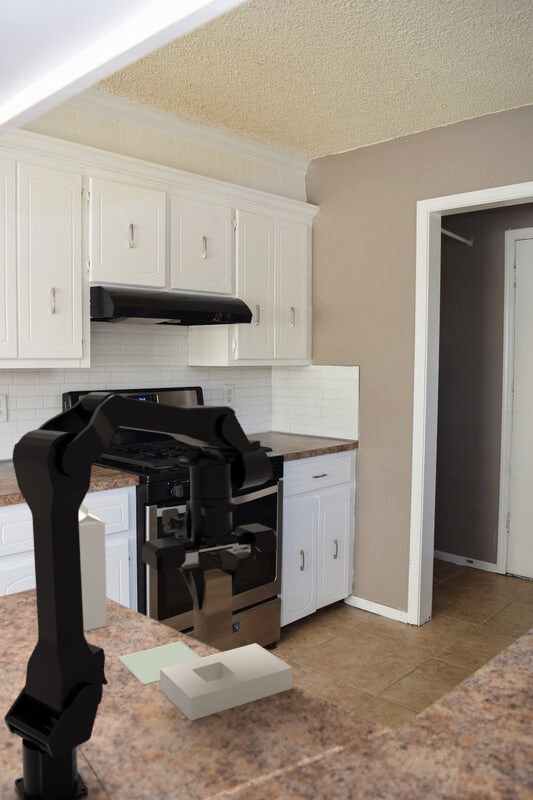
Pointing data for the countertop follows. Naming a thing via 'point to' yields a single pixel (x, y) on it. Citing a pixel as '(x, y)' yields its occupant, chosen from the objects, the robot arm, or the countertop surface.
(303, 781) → the countertop surface
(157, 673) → the mat
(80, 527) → the milk
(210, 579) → the plug
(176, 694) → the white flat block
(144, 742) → the countertop surface
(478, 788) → the countertop surface
